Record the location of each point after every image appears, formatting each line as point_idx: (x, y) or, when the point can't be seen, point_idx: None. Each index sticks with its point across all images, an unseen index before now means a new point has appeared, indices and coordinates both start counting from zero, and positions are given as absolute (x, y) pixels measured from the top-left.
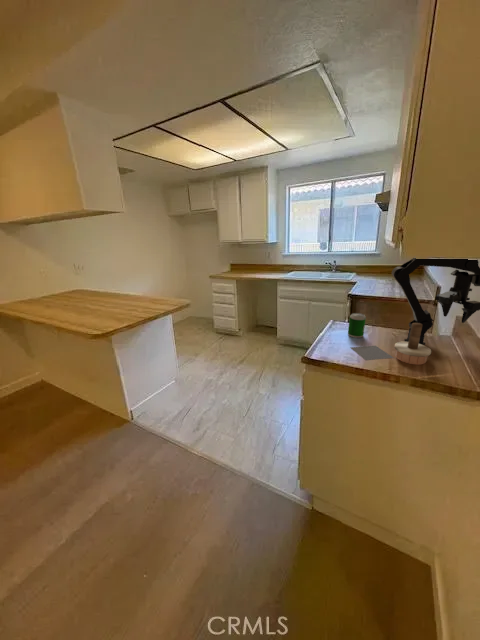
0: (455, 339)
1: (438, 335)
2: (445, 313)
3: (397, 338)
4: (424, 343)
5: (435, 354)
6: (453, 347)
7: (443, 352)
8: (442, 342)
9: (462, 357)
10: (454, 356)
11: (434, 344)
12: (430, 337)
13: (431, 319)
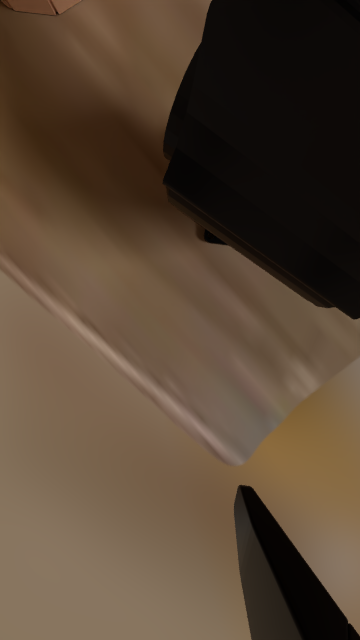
0: (204, 447)
1: (275, 422)
2: (248, 537)
3: None
4: (205, 231)
5: (71, 166)
6: (127, 350)
7: (85, 239)
8: (195, 357)
9: (17, 278)
10: (32, 250)
11: (186, 291)
12: (272, 360)
13: (182, 136)
